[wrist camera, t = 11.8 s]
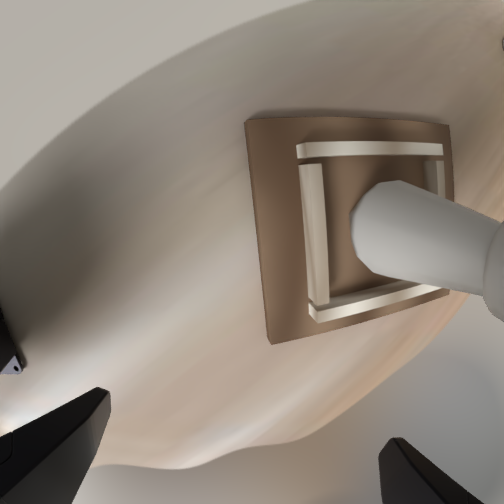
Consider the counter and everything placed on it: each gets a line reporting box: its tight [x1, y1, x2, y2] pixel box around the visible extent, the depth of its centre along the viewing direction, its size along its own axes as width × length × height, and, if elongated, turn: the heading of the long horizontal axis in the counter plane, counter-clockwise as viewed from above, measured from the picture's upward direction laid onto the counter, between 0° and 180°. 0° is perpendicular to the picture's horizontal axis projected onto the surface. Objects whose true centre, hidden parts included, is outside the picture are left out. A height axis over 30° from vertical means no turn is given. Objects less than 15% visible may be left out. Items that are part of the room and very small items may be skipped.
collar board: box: [244, 117, 454, 345], centre depth 19 cm, size 16×14×2 cm
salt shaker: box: [349, 180, 504, 322], centre depth 13 cm, size 6×6×13 cm
